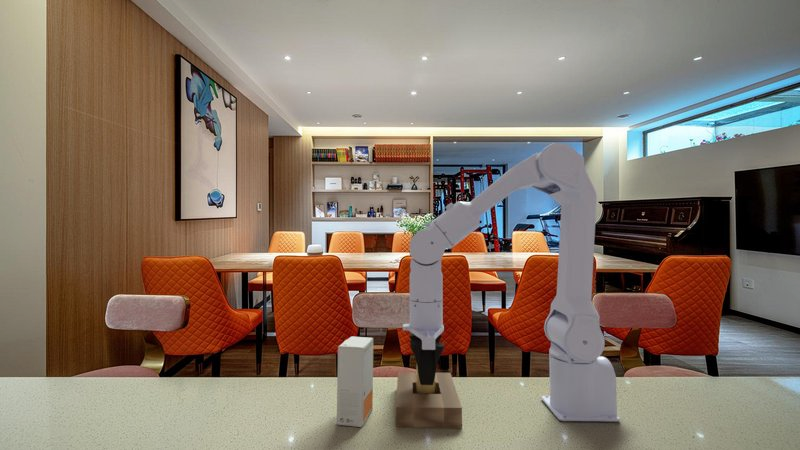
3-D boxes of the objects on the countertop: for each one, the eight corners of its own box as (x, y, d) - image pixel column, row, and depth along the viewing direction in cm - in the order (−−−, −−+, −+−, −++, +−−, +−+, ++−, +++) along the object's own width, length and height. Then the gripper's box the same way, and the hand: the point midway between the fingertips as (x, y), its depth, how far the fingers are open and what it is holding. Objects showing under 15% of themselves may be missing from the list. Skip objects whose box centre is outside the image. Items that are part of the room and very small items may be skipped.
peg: (434, 387, 62) (434, 347, 62) (435, 396, 59) (435, 353, 59) (416, 387, 62) (416, 347, 62) (416, 395, 59) (416, 353, 59)
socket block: (450, 388, 67) (450, 372, 67) (462, 428, 53) (461, 407, 53) (397, 388, 68) (397, 372, 68) (395, 427, 54) (395, 407, 54)
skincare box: (362, 428, 53) (363, 347, 54) (336, 425, 54) (336, 346, 55) (373, 409, 59) (374, 337, 60) (349, 407, 60) (350, 335, 60)
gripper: (403, 293, 68) (403, 364, 68) (402, 307, 54) (402, 398, 53) (439, 293, 68) (439, 364, 68) (448, 308, 54) (449, 398, 53)
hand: (426, 379), depth 61 cm, fingers closed on peg, 3 cm apart
